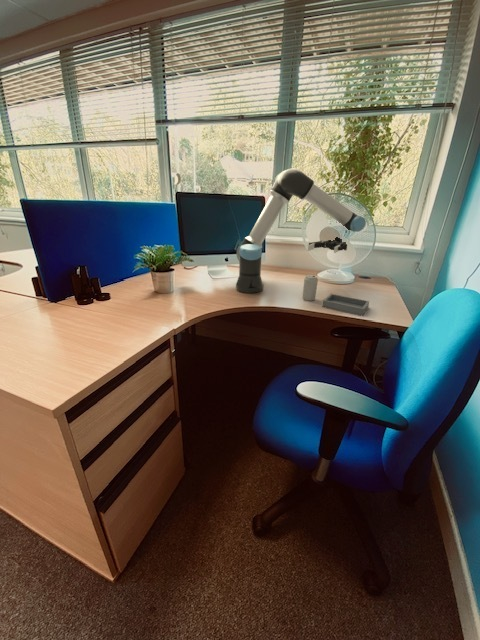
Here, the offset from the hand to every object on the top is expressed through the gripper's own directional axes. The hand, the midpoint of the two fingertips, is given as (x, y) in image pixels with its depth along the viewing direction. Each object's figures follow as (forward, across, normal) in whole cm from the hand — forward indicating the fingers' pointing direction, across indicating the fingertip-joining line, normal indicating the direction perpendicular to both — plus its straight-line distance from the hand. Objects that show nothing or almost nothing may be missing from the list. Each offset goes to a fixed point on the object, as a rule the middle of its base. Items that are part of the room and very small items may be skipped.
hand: (321, 249), depth 132 cm
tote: (+11, -18, -24) cm, 32 cm away
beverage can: (+12, 0, -23) cm, 26 cm away
